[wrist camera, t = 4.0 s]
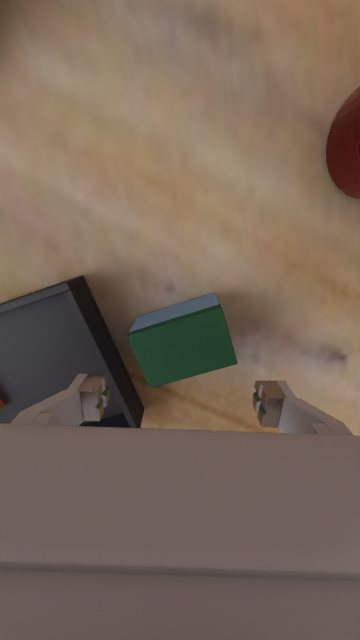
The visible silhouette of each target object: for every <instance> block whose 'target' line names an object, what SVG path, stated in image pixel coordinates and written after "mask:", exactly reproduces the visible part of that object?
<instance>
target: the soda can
mask: <svg viewBox="0 0 360 640" xmlns="http://www.w3.org/2000/svg"><path fill="white" fill-rule="evenodd" d="M326 162H327V166H328V171H329V174H330V176H331V178H332V180H333V182H334V183H335V184H336V186H337V187H338V188H339V189H340V190H341V191H342V192H344V193H345V194H346V195H348V196H351V197H353V198H355V199H360V87H359V88H357V89H356V90H355V91H354V92H353V93H352V94H351V95H350V97H349V98H348V99H347V100H346V101H345V102H344V104H343V105H342V107H341V108H340V110H339V111H338V113H337V115H336V117H335V119H334V121H333V123H332V125H331V129H330V132H329V135H328V139H327V146H326Z"/></svg>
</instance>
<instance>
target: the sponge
mask: <svg viewBox="0 0 360 640" xmlns="http://www.w3.org/2000/svg"><path fill="white" fill-rule="evenodd" d="M127 339H128V341H129V343H130V345H131V348H132V350H133V352H134V355H135V357H136V359H137V362H138V364H139V366H140V368H141V371H142V373H143V375H144V378H145V380H146V382H147V384H148V387H149V388H153V387H156V386H160V385H163V384H167V383H171V382H174V381H178V380H181V379H185V378H188V377H192V376H196V375H199V374H203V373H206V372H210V371H213V370H217V369H221V368H224V367H228V366H231V365H235V364H237V360H236V356H235V353H234V349H233V346H232V342H231V339H230V335H229V332H228V328H227V325H226V321H225V318H224V314H223V311H222V307H221V305H220V304H219V302H218V300H217V298H216V296H215V294H214V293H211V294H208V295H205V296H201V297H198V298H195V299H192V300H189V301H186V302H182V303H179V304H176V305H173V306H170V307H167V308H163V309H160V310H157V311H154V312H151V313H148V314H145V315H141V316H138V317H137V318H136V320H135V322H134V324H133V326H132V328H131V330H130V331H129V333H128V335H127Z"/></svg>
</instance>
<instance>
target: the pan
mask: <svg viewBox="0 0 360 640" xmlns="http://www.w3.org/2000/svg"><path fill="white" fill-rule="evenodd" d="M78 374H101V375H107V376H108V384H107V387H108V388H109V400H108V404H107V406H106V407H105V408H104V413H103V415H102V418H101V420H100V421H83V422H82V423H81V424H80V425H79V426H90V427H119V428H140V427H141V422H142V417H143V412H144V407H143V405H142V403H141V401H140V398H139V396H138V394H137V392H136V390H135V387H134V385H133V383H132V381H131V379H130V377H129V374H128V372H127V370H126V368H125V366H124V364H123V361H122V359H121V357H120V355H119V353H118V350H117V348H116V346H115V344H114V342H113V340H112V337H111V335H110V333H109V331H108V329H107V327H106V324H105V322H104V320H103V318H102V316H101V313H100V311H99V309H98V307H97V305H96V303H95V300H94V298H93V296H92V294H91V292H90V289H89V287H88V285H87V283H86V281H85V279H84V276H83V275H82V276H79V277H76V278H73V279H70V280H67V281H64V282H61V283H59V284H56V285H53V286H50V287H47V288H44V289H41V290H38V291H35V292H33V293H30V294H27V295H24V296H21V297H18V298H15V299H12V300H9V301H7V302H4V303H1V304H0V398H1V400H2V401H3V403H4V404H5V405H4V406H3V407H2V408H1V409H0V423H4V424H10V423H11V422H12V420H13V419H14V418H15V417H16V416H17V415H18V414H19V413H20V412H21V411H23V410H25V409H27V408H29V407H31V406H33V405H35V404H37V403H39V402H41V401H43V400H45V399H47V398H49V397H51V396H53V395H55V394H57V393H59V392H61V391H63V390H67V389H68V388H69V386H70V385H71V383H72V382H73V381H74V379H75V378H76V377H77V375H78Z"/></svg>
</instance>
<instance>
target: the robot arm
mask: <svg viewBox="0 0 360 640" xmlns="http://www.w3.org/2000/svg"><path fill="white" fill-rule="evenodd" d="M107 384H108V376H107V375H101V374H78V375H77V377H76V378H75V379H74V381H73V382H72V383H71V385H70V386H69V388H68V389H67V390H63V391H61V392H59V393H57V394H55V395H53V396H51V397H49V398H47V399H45V400H43V401H41V402H39V403H37V404H35V405H33V406H31V407H29V408H27V409H25V410H23V411H21V412H20V413H19V414H18V415H17V416H16V417H15V418H14V419H13V420H12V422H11V423H10V424H4V423H0V640H360V436H354V435H353V434H352V433H351V432H350V431H349V429H348V428H347V427H346V426H345V425H344V423H342V422H341V421H339V420H337V419H335V418H333V417H332V416H330V415H328V414H326V413H325V412H323V411H321V410H319V409H317V408H316V407H314V406H312V405H310V404H309V403H307V402H305V401H303V400H301V399H297V398H296V396H295V395H294V393H293V392H292V390H291V389H290V388H289V386H288V385H287V383H286V382H285V381H256V382H255V389H256V392H255V393H254V394H253V407H254V410H255V412H256V413H258V417H257V418H258V420H259V423H260V425H261V427H273V428H278V429H279V430H280V431H281V432H282V433H264V432H235V431H206V430H177V429H148V428H119V427H90V426H79V425H80V424H81V423H82V422H83V421H100V420H101V418H102V415H103V413H104V408H105V407H106V406H107V404H108V400H109V388H108V387H107Z"/></svg>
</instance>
